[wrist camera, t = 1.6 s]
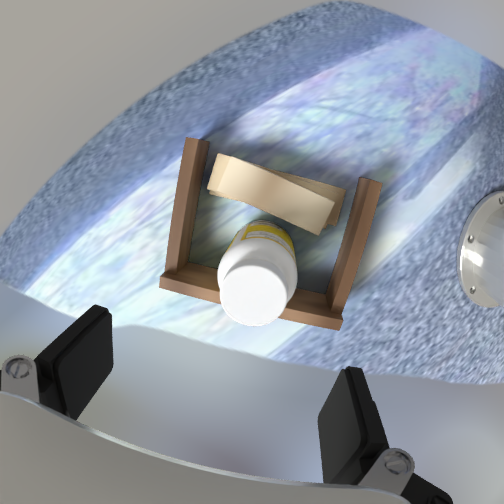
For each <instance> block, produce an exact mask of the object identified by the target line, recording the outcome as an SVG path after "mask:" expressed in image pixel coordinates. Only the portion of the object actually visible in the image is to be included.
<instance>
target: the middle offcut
mask: <svg viewBox="0 0 504 504" xmlns="http://www.w3.org/2000/svg"><path fill="white" fill-rule="evenodd" d="M230 158H231V156H228V155H224V154H221V153H218V154H217V157H216V161H215V164H214V167H213V170H212V174H211V177H210V180H209V184H208V187H207V189H209V190H212V191H216V192H219V191H217V189H218V186H219V184H220V182H221V179H222V177H223V174H224V172H225V169H226V167H227V165H228V162H229V160H230ZM243 161H244V160H243ZM246 162H247V161H246ZM248 163H250V162H248ZM250 164H253V163H250ZM253 165H255V166H258V167H260V168H262V169H265V170H267V171H269V172H271V173H274V174H276V175H278V176H281V177H283V178H285V179H287V180H289V181H292V182H294V183H296V184H298V185H300V186H303V187H305V188H307V189H309V190H311V191H313V192H315V193H317V194H320V195H322V196H324V197H326V198H328V199H330V200H332V201H333V202H334V205H333V207H332V210H331V212H330V214H329V216H328V218H327V220H326V222H325V224H324V226H323V228H324V229H326V227H327V224H328V222H329V219H330V216H331V214H332V211H333V208H334V206H335V203H336V200H337V197H338V195H339V194H338V193H336V192H333V191H331V190H328V189H325V188H323V187H320V186H317V185H315V184H312V183H309V182H306V181H304V180H301V179H298V178H295V177H292V176H290V175H287V174H284V173H281V172H278V171H275V170H272V169H269V168H266V167H263V166H260V165H257V164H253ZM219 193H221V192H219ZM222 194H224V193H222ZM225 195H226V194H225Z"/></svg>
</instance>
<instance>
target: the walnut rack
mask: <svg viewBox="0 0 504 504" xmlns="http://www.w3.org/2000/svg"><path fill="white" fill-rule="evenodd" d="M209 143H210V142H208V141H204V140H200V139H195V138H188V137H186V140H185V145H184V150H183V155H182V160H181V166H180V171H179V177H178V182H177V188H176V194H175V200H174V206H173V213H172V220H171V226H170V233H169V241H168V248H167V256H166V265H165V272H164V273H163V274H162V275H161V276H160V283H159V288H163V289H166V290H170V291H173V292H177V293H181V294H184V295H188V296H192V297H195V298H199V299H203V300H207V301H210V302H214V303H218V304H221V301H220V288H219V284H218V269H215V268H211V267H207V266H203V265H199V264H195V263H191V262H188V260H189V253H190V247H191V240H192V234H193V228H194V222H195V216H196V211H197V205H198V199H199V194H200V189H201V183H202V178H203V173H204V168H205V163H206V158H207V153H208V148H209ZM381 187H382V183H380V182H377V181H374V180H371V179H366V178H362V177H359V181H358V185H357V189H356V193H355V196H354V200H353V204H352V208H351V211H350V215H349V219H348V222H347V226H346V229H345V233H344V236H343V240H342V243H341V247H340V250H339V253H338V257H337V260H336V263H335V266H334V269H333V273H332V276H331V279H330V282H329V285H328V288H327V291H326V294H321V293H316V292H312V291H308V290H303V289H299V288H296V289H295V292H294V294H293V296H292V297H291V299H290V300H289V301H288V302H287V304H286V307H285V309H284V311H283V312H282V314H281V315H280V316H279V317H278V318H281V319H285V320H290V321H294V322H299V323H304V324H308V325H313V326H318V327H323V328H328V329H333V330H338V331H339V330H340V328H341V325H342V323H343V318H342V315H341V314H342V312H343V309H344V306H345V304H346V301H347V298H348V295H349V292H350V290H351V287H352V284H353V281H354V278H355V275H356V272H357V269H358V266H359V263H360V260H361V257H362V254H363V251H364V247H365V244H366V241H367V238H368V234H369V231H370V228H371V224H372V221H373V217H374V214H375V210H376V206H377V203H378V199H379V195H380V191H381Z"/></svg>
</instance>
